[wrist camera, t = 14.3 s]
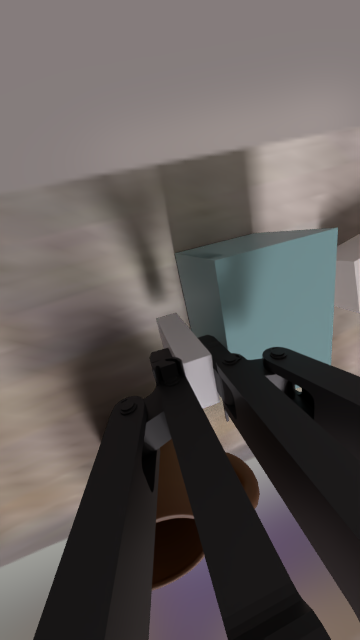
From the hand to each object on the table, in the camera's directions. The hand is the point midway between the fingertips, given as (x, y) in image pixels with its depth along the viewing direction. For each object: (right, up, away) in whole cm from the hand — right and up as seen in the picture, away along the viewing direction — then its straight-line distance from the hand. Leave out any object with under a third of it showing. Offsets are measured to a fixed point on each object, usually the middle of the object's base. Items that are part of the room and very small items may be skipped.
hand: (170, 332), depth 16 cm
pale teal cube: (+5, +3, +4) cm, 7 cm away
